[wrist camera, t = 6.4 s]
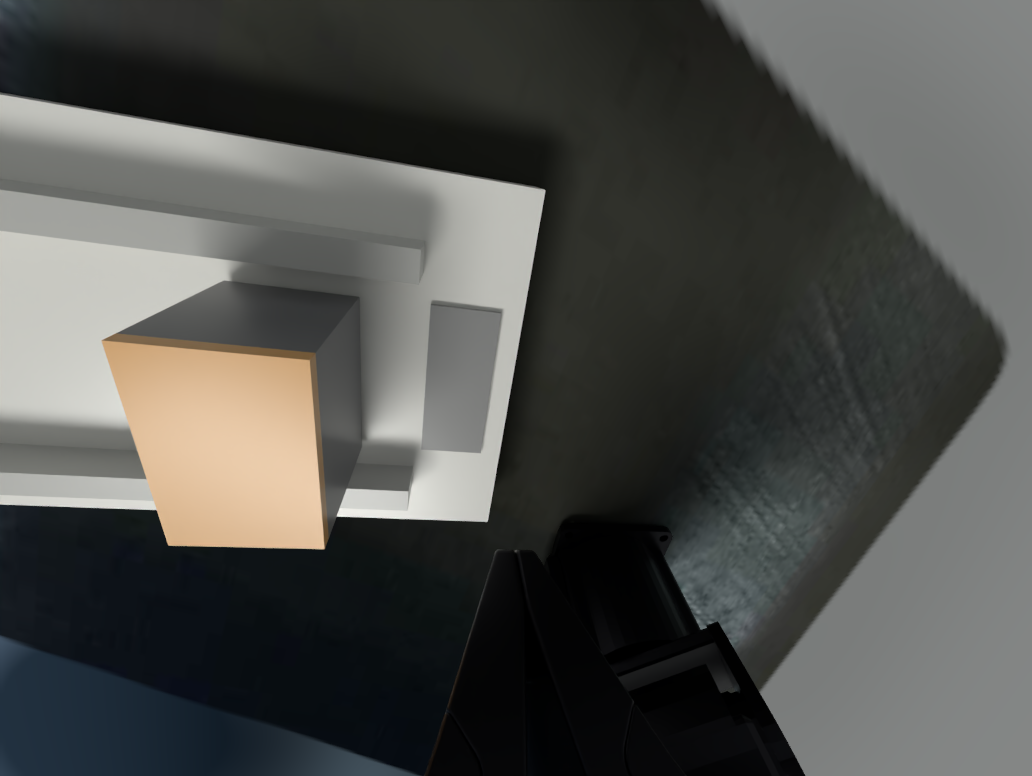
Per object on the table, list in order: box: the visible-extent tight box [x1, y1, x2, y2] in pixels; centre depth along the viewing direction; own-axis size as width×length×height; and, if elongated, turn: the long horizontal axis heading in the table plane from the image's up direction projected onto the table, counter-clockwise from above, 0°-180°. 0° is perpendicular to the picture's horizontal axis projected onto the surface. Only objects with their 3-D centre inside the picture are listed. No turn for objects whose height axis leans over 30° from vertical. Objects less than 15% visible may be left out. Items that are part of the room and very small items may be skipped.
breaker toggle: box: [101, 280, 362, 549], centre depth 12 cm, size 4×6×5 cm, turn 171°
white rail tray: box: [0, 92, 546, 522], centre depth 14 cm, size 24×14×4 cm, turn 81°
